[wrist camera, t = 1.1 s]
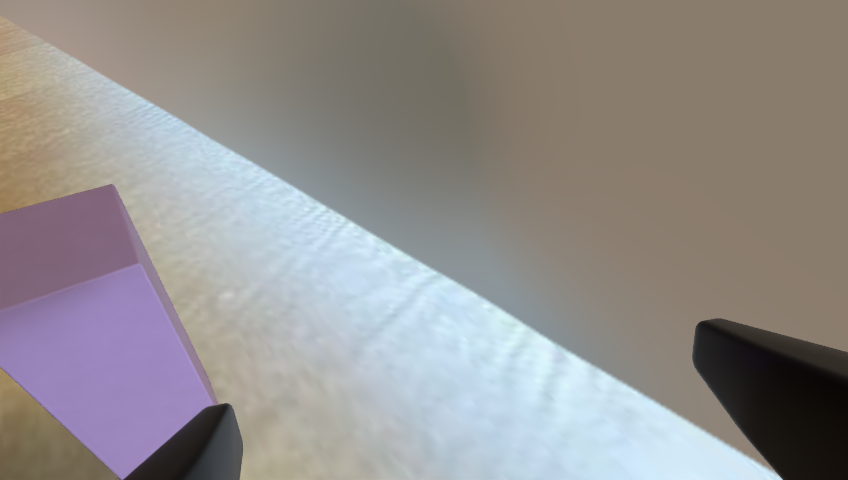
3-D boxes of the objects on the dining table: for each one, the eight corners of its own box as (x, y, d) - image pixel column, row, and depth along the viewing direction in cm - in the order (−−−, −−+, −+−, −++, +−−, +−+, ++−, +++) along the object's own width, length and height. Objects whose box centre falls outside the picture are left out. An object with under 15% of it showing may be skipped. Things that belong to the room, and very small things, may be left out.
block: (233, 442, 22) (141, 263, 13) (135, 494, 20) (-46, 326, 12) (206, 373, 25) (113, 182, 16) (117, 415, 23) (-46, 224, 14)
